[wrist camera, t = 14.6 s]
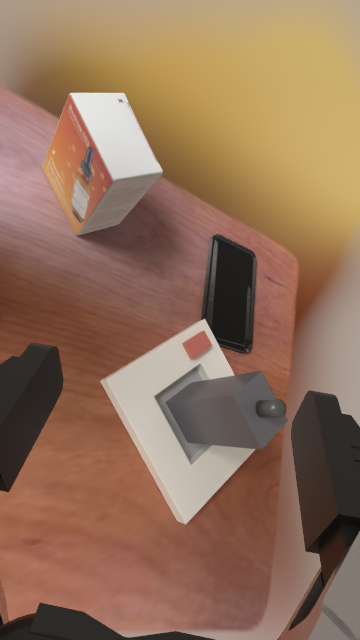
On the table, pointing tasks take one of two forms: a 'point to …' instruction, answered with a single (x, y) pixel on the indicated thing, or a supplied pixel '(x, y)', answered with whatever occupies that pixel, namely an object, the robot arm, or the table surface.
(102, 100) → the small box
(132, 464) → the table surface
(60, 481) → the table surface
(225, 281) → the phone
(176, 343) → the socket plate
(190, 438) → the plug
